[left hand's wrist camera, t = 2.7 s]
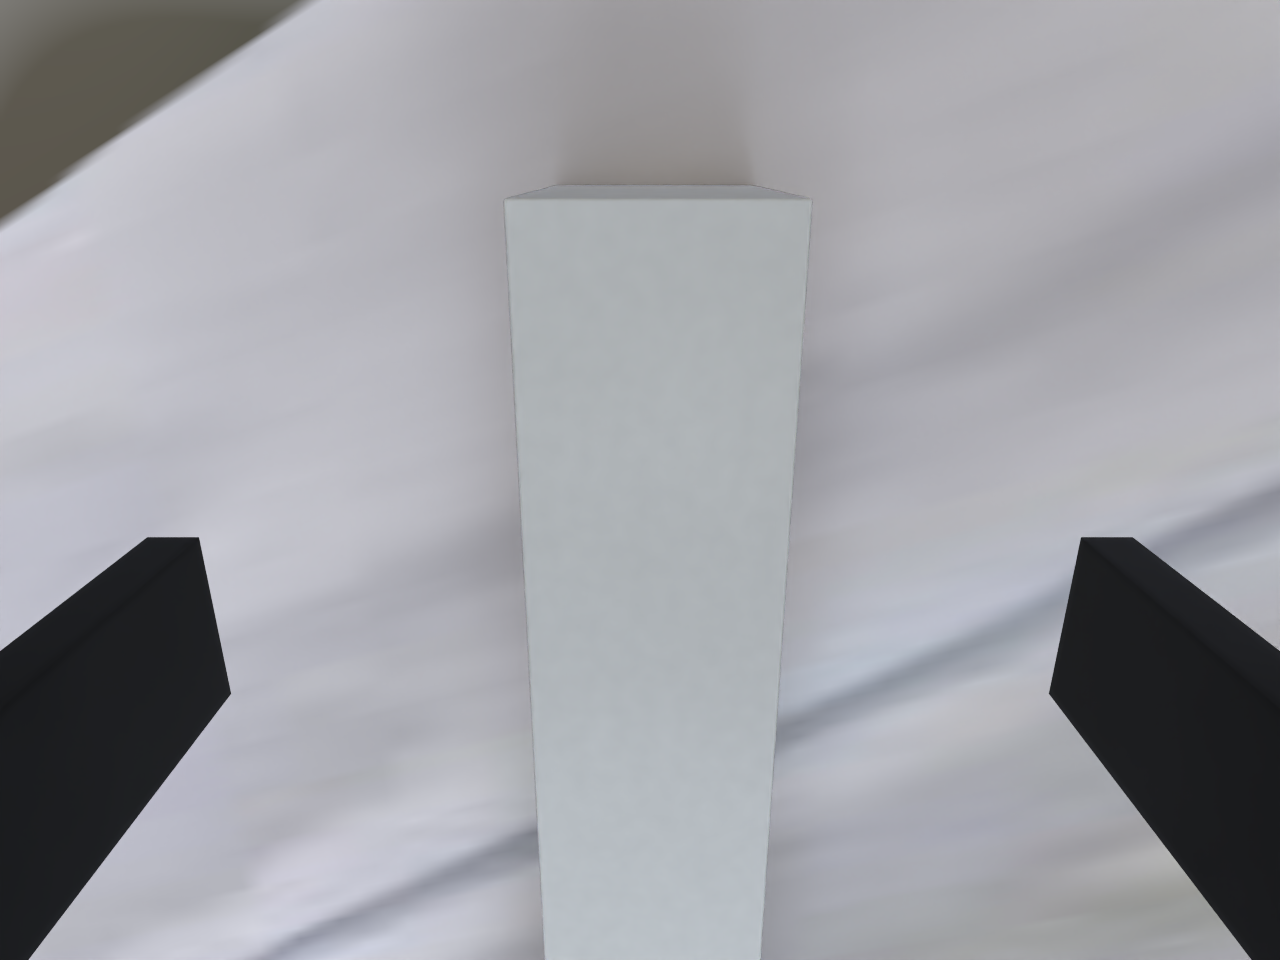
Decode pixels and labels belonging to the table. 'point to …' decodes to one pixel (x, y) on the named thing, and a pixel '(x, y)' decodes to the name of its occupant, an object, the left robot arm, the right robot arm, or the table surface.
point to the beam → (655, 550)
